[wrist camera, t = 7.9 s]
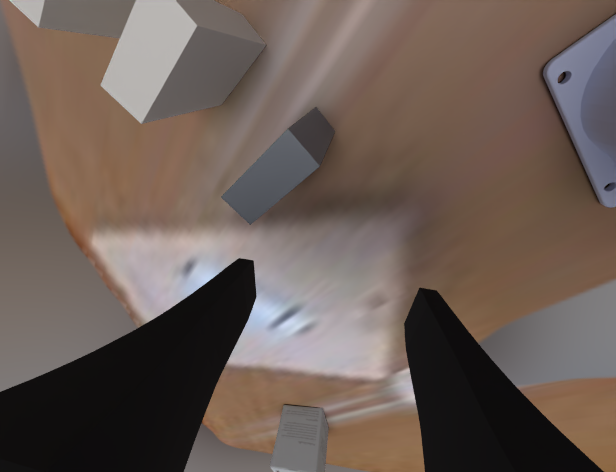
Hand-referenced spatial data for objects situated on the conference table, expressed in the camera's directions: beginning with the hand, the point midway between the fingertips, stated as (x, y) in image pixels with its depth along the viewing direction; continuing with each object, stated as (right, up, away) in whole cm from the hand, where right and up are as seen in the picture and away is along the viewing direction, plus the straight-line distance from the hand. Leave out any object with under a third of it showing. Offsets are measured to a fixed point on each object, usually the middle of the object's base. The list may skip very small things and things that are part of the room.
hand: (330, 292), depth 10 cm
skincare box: (-1, -25, +28) cm, 37 cm away
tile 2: (-5, +12, +5) cm, 14 cm away
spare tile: (-1, +8, +6) cm, 10 cm away
